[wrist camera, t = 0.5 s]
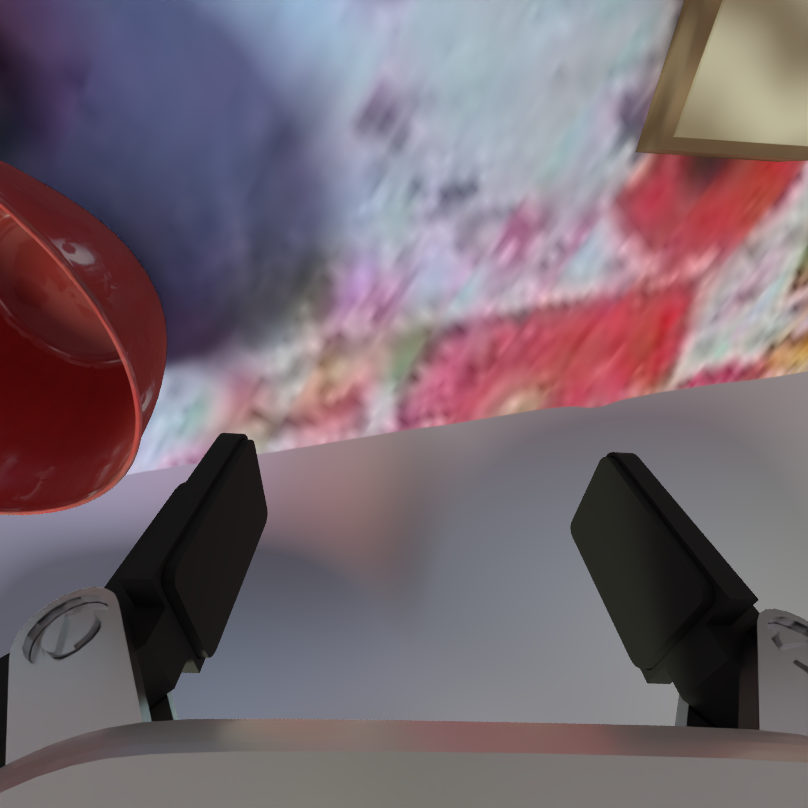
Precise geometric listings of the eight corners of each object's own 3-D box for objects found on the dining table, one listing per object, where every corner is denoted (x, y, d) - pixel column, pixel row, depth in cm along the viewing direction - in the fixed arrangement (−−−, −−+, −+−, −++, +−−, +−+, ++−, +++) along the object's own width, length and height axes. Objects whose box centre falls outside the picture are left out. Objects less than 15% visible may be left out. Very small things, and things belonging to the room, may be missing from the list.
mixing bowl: (-8, 0, 25) (-462, -196, 12) (287, 326, 37) (226, 407, 24) (-155, 252, 33) (-515, 301, 20) (126, 450, 46) (15, 559, 33)
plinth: (725, -126, 22) (771, -169, 19) (911, -108, 23) (982, -148, 20) (635, 152, 30) (659, 149, 27) (777, 161, 30) (815, 160, 27)
